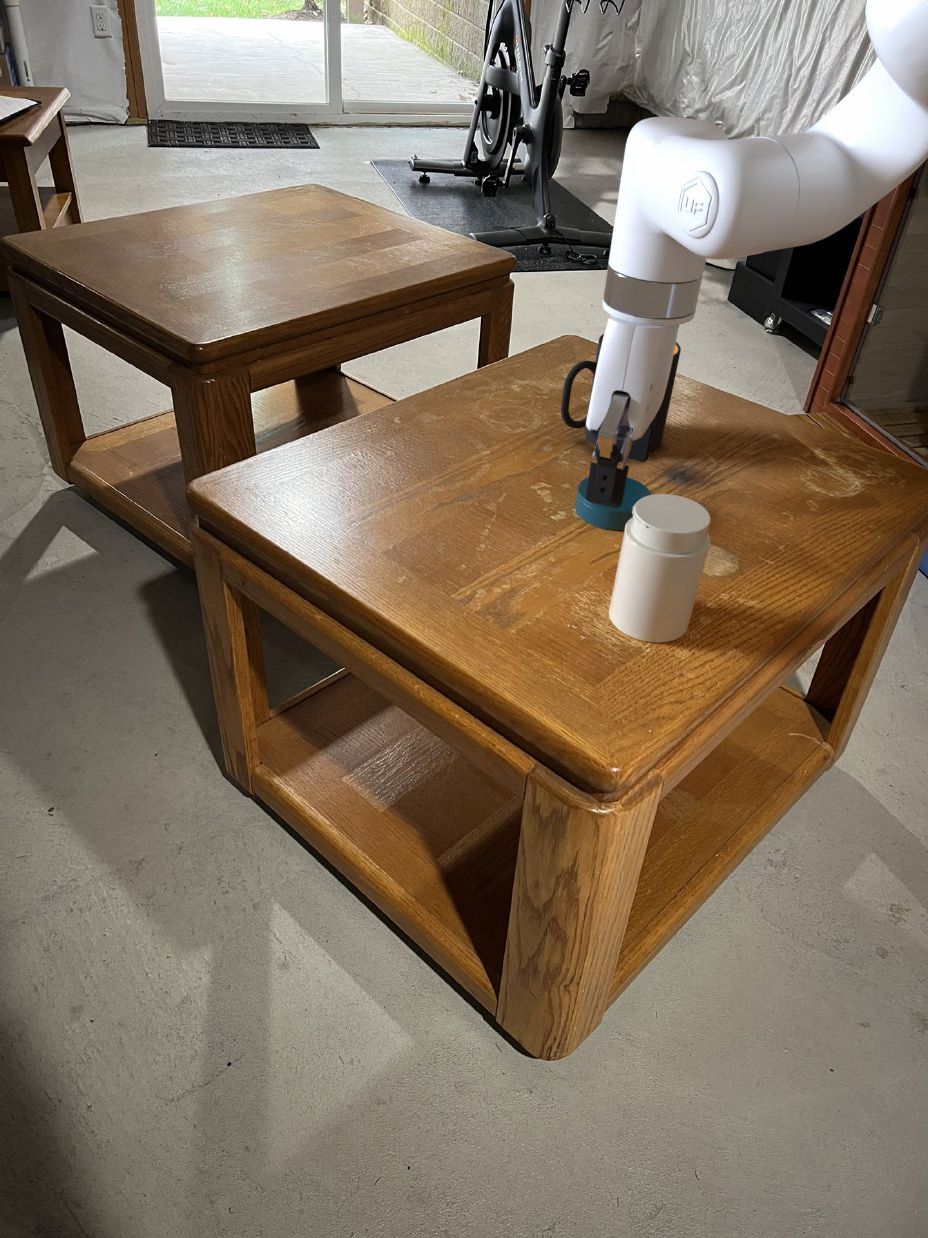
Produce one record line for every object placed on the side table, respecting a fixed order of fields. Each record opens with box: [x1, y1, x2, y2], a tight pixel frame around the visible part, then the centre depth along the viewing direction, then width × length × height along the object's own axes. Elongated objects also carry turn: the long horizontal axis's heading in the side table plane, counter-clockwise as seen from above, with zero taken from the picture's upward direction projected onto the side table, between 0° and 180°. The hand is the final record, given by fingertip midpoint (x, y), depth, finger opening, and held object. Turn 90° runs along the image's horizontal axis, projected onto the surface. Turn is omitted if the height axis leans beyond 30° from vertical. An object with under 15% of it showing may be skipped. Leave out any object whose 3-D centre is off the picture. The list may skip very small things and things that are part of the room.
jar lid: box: [574, 476, 652, 532], centre depth 87 cm, size 7×7×2 cm
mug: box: [560, 333, 682, 453], centre depth 97 cm, size 8×12×10 cm
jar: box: [608, 493, 712, 644], centre depth 72 cm, size 6×6×10 cm
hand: (617, 479), depth 86 cm, fingers open, 9 cm apart
